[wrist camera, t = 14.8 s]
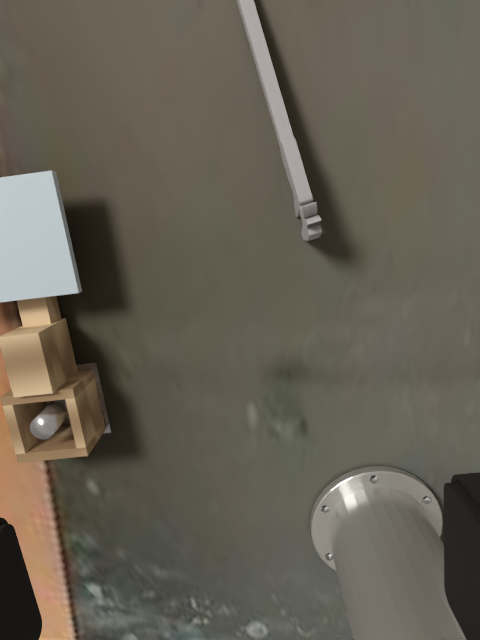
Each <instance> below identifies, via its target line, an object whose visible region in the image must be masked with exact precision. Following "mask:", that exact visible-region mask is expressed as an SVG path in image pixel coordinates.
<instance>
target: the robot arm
mask: <svg viewBox="0 0 480 640" xmlns="http://www.w3.org/2000/svg"><path fill="white" fill-rule="evenodd" d="M442 526H443V519H442V512H441V509H440V506H439V503H438V501H437V500H436V498H435V496H434V495H433V493H432V492H431V490H430V489H429V488H428V487H427V486H426V484H425V483H424V482H422V481H421V480H420V479H419V478H417V477H416V476H414V475H412V474H410V473H408V472H406V471H404V470H400V469H397V468H394V467H385V466H372V467H365V468H360V469H356V470H353V471H351V472H348V473H346V474H343V475H342V476H340V477H339V478H337V479H335V480H334V481H333V482H331V483H330V484H329V485H328V486H327V487H326V488H325V489H324V490H323V491H322V493H321V494H320V495H319V497H318V498H317V500H316V502H315V504H314V506H313V509H312V513H311V517H310V530H311V535H312V540H313V543H314V546H315V549H316V551H317V552H318V554H319V556H320V557H321V559H322V560H323V561H324V562H325V563H326V564H327V565H328V566H329V567H331V568H332V569H333V570H335V571H336V572H337V575H338V579H339V583H340V587H341V591H342V595H343V600H344V604H345V608H346V612H347V616H348V620H349V624H350V628H351V632H352V636H353V640H480V473H469V474H459V475H454V476H453V477H452V479H451V483H446V484H445V485H444V544H443V542H442V541H441V539H440V537H441V534H442ZM41 629H42V619H41V615H40V612H39V608H38V605H37V602H36V598H35V595H34V592H33V588H32V585H31V582H30V579H29V575H28V572H27V569H26V565H25V562H24V559H23V555H22V552H21V549H20V546H19V542H18V539H17V536H16V532H15V529H14V527H13V526H12V525H11V524H8V523H7V521H6V520H5V519H4V518H0V640H39V637H40V634H41Z"/></svg>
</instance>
